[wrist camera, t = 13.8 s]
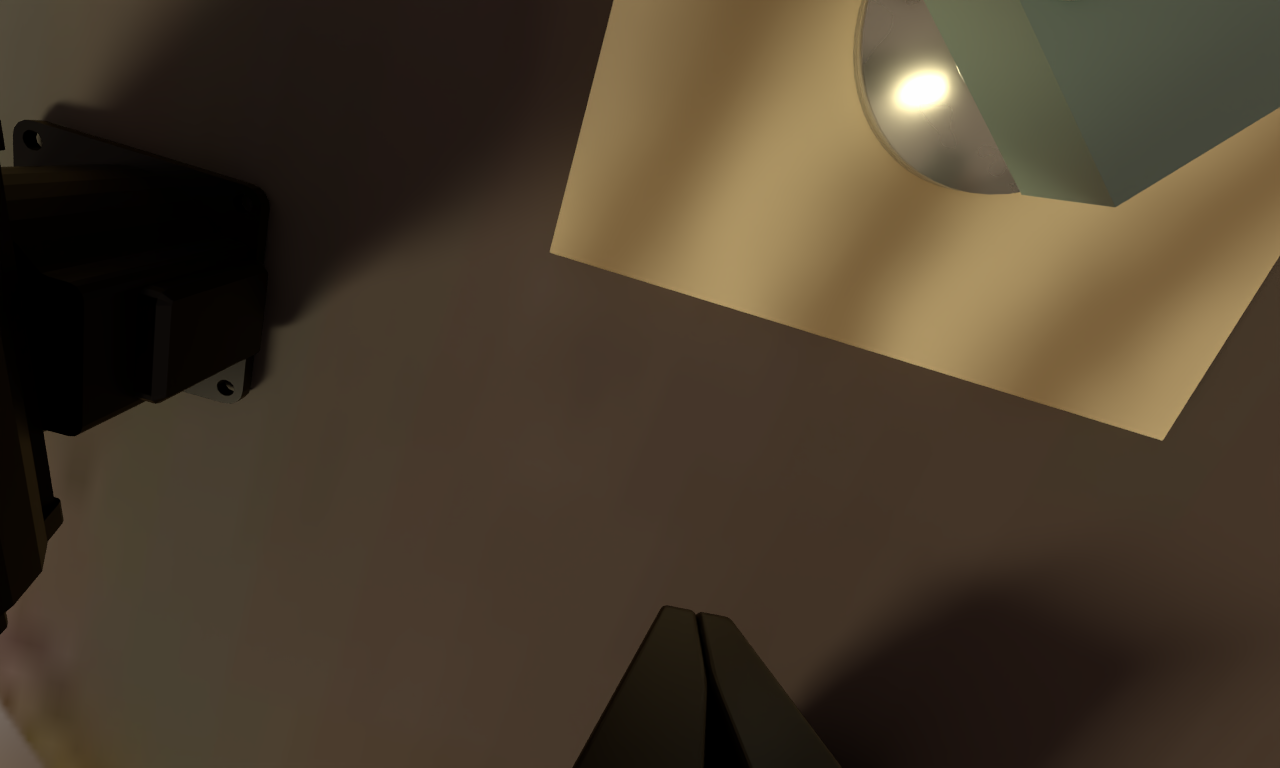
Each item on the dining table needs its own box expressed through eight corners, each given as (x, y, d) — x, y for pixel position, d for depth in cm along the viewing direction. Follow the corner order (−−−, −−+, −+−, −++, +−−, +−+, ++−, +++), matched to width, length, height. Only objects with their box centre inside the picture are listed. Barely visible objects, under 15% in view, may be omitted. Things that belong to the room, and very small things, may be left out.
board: (555, 246, 18) (549, 252, 18) (754, -531, 13) (761, -583, 12) (1138, 426, 20) (1162, 440, 19) (1533, -217, 14) (1594, -242, 14)
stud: (808, 143, 16) (839, 143, 14) (930, -192, 14) (999, -277, 11) (1065, 227, 17) (1146, 244, 14) (1224, -82, 15) (1359, -137, 12)
